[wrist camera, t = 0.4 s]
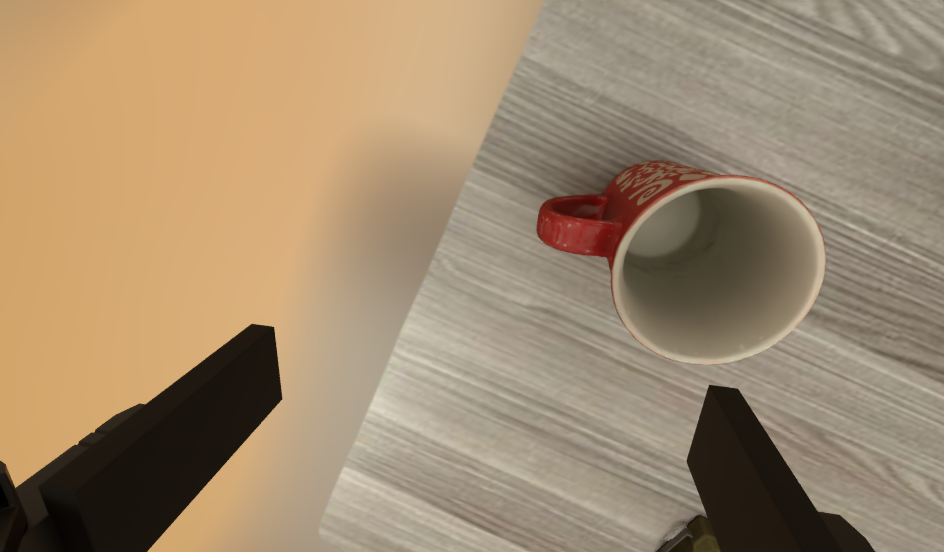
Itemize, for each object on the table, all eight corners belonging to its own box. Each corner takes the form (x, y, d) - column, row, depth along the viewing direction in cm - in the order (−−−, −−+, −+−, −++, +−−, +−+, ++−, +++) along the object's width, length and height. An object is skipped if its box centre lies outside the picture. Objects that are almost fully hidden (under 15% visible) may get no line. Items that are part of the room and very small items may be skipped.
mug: (742, 163, 31) (873, 207, 18) (688, 283, 34) (768, 388, 22) (559, 118, 32) (567, 131, 19) (525, 240, 35) (512, 318, 23)
